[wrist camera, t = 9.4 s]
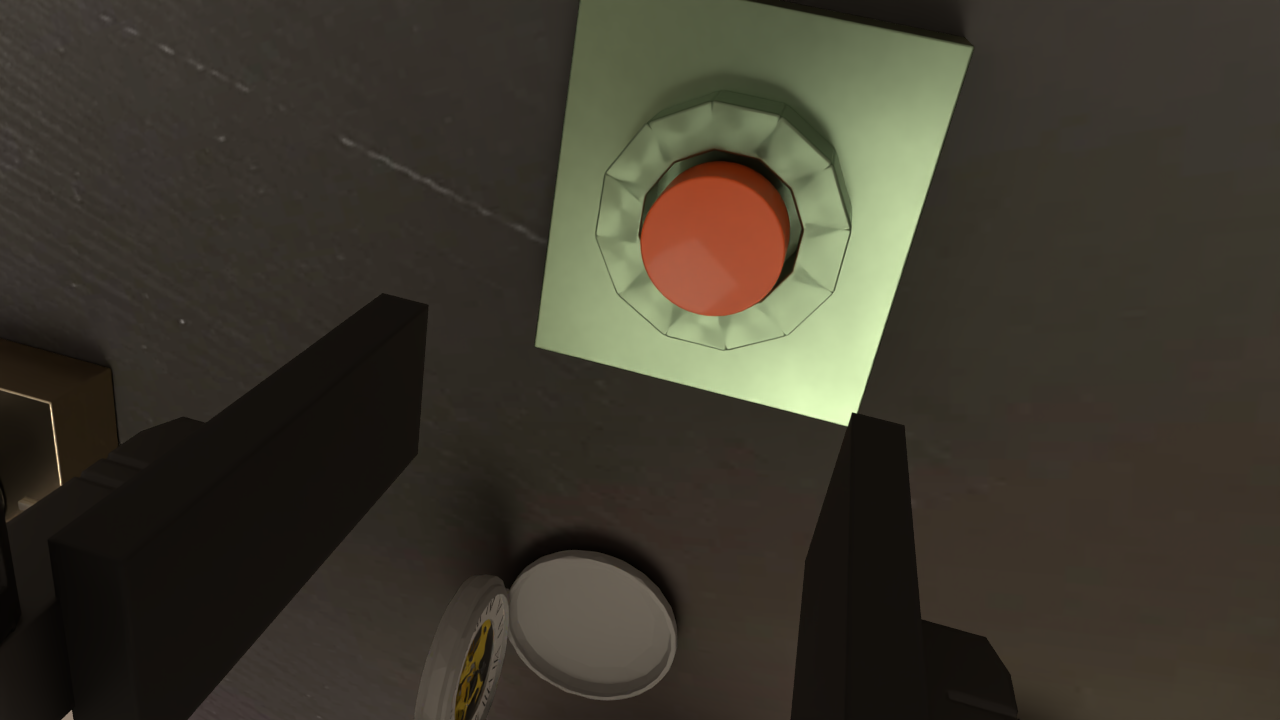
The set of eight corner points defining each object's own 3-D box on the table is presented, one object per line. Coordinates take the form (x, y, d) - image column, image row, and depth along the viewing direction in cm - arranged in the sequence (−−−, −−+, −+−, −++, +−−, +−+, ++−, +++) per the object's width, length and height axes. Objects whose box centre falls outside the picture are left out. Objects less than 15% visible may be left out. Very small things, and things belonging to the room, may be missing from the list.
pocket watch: (710, 660, 35) (657, 906, 26) (528, 706, 38) (425, 940, 29) (610, 485, 33) (514, 689, 24) (424, 549, 36) (279, 751, 27)
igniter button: (772, 307, 25) (766, 331, 23) (643, 276, 25) (628, 298, 24) (805, 177, 23) (801, 194, 22) (667, 147, 24) (653, 161, 22)
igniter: (854, 396, 29) (852, 460, 26) (554, 321, 30) (513, 371, 27) (966, 37, 24) (984, 54, 21) (604, -36, 26) (563, -31, 22)
